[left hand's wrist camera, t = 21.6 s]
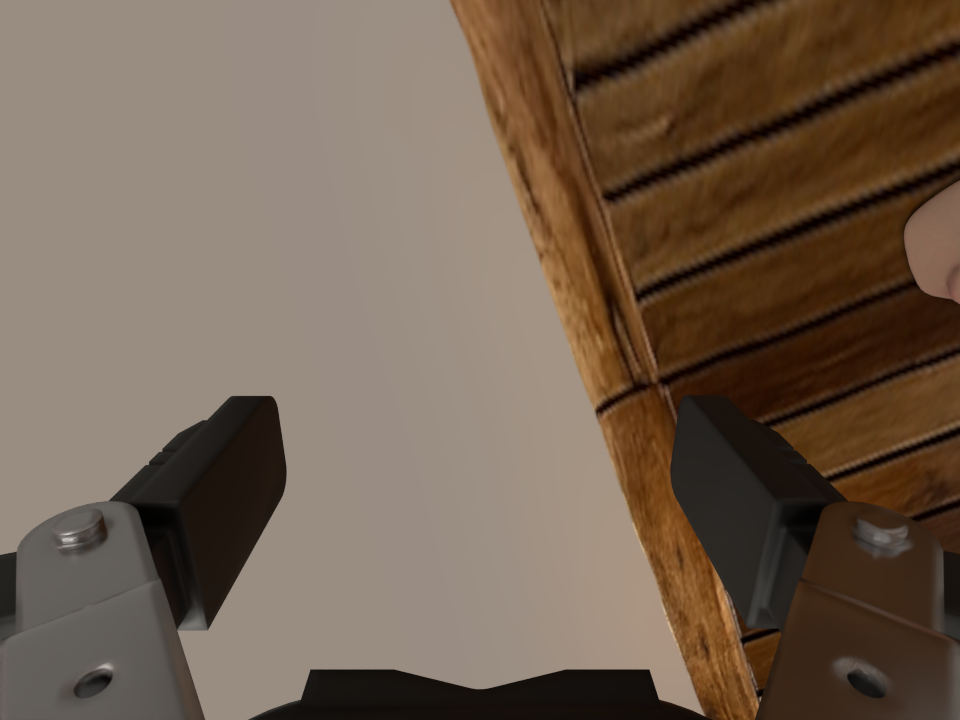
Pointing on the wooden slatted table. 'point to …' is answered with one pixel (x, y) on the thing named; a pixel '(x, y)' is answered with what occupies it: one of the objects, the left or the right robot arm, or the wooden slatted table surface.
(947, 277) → the anatomical model
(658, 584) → the wooden slatted table surface
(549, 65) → the wooden slatted table surface
